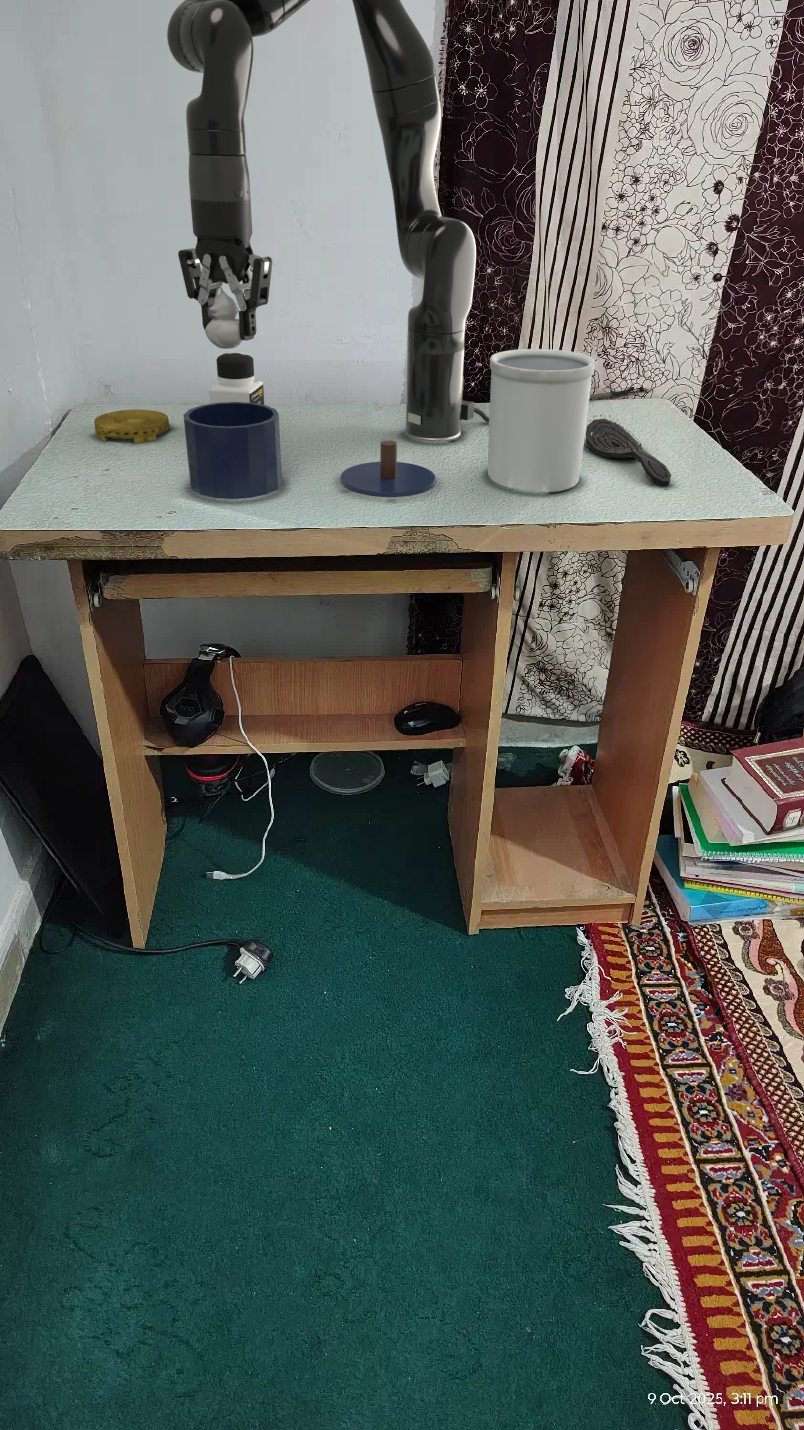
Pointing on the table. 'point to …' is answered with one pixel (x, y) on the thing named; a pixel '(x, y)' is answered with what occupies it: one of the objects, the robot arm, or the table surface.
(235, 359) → the medicine bottle
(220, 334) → the grey lumpy rounded piece
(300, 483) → the table surface
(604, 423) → the hairbrush
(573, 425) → the utensil holder
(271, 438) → the pot
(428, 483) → the lid
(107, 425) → the golden brown disc
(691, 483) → the table surface
